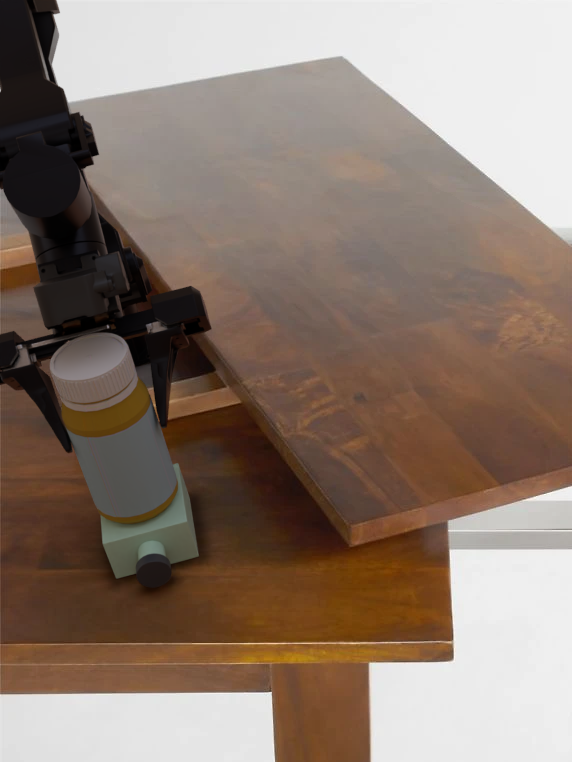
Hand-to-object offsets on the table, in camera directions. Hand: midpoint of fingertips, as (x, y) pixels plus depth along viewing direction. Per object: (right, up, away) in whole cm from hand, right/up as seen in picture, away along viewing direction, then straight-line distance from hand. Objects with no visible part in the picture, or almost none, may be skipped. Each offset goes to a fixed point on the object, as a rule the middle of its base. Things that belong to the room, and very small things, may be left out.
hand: (116, 439), depth 110 cm
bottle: (+1, -5, +6) cm, 8 cm away
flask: (+2, -9, +7) cm, 12 cm away
